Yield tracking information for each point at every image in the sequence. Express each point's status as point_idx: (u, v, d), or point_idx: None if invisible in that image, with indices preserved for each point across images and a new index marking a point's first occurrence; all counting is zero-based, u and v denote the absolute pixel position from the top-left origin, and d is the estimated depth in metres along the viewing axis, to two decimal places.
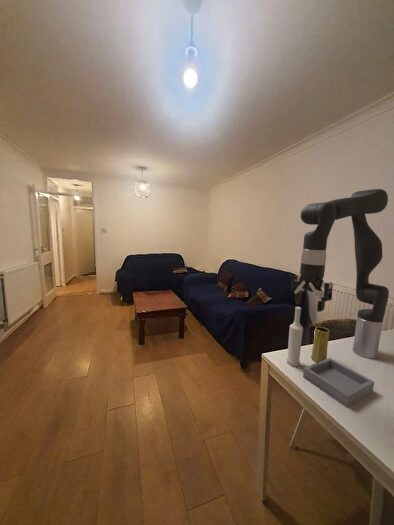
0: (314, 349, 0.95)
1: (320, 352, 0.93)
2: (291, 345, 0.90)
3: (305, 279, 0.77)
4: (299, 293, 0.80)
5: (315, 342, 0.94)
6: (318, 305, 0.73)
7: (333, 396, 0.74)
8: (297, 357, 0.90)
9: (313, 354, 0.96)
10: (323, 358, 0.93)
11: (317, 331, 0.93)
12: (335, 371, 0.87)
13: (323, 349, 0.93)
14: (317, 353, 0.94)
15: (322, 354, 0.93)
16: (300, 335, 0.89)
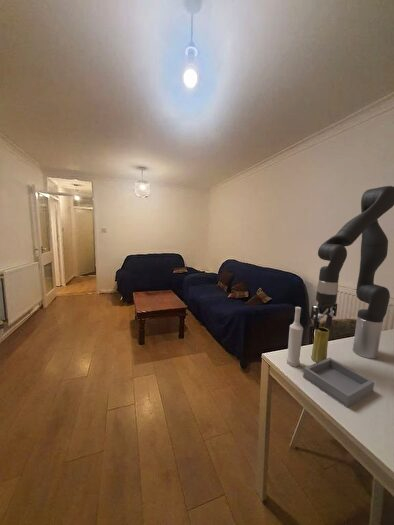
0: (314, 349, 0.95)
1: (320, 352, 0.93)
2: (291, 345, 0.90)
3: (325, 306, 0.91)
4: None
5: (315, 342, 0.94)
6: (331, 321, 0.95)
7: (333, 396, 0.74)
8: (297, 357, 0.90)
9: (313, 354, 0.96)
10: (323, 358, 0.93)
11: (317, 331, 0.93)
12: (335, 371, 0.87)
13: (323, 349, 0.93)
14: (317, 353, 0.94)
15: (322, 354, 0.93)
16: (300, 335, 0.89)
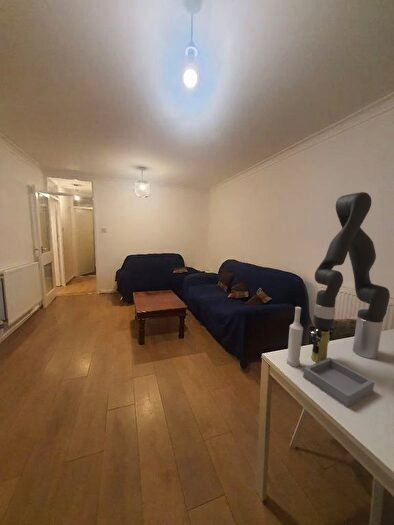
0: None
1: (320, 352, 0.93)
2: (291, 345, 0.90)
3: (322, 330, 0.92)
4: None
5: None
6: None
7: (333, 396, 0.74)
8: (297, 357, 0.90)
9: (313, 354, 0.96)
10: (323, 358, 0.93)
11: None
12: (335, 371, 0.87)
13: (323, 349, 0.93)
14: None
15: (322, 354, 0.93)
16: (300, 335, 0.89)
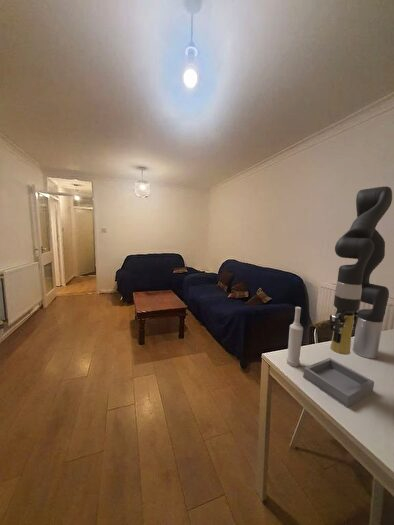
0: None
1: (342, 341, 0.76)
2: (291, 345, 0.90)
3: (346, 313, 0.75)
4: None
5: None
6: None
7: (333, 396, 0.74)
8: (297, 357, 0.90)
9: (333, 344, 0.78)
10: (346, 348, 0.76)
11: None
12: (335, 371, 0.87)
13: (346, 337, 0.75)
14: None
15: (345, 343, 0.76)
16: (300, 335, 0.89)
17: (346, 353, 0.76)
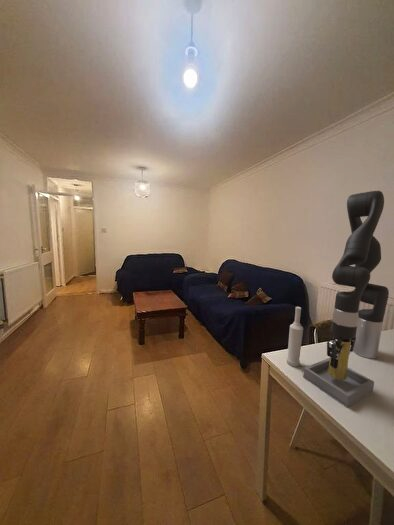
0: None
1: (339, 366, 0.77)
2: (291, 345, 0.90)
3: (343, 340, 0.76)
4: None
5: None
6: None
7: (333, 396, 0.74)
8: (297, 357, 0.90)
9: (330, 368, 0.80)
10: (343, 374, 0.77)
11: None
12: None
13: (343, 362, 0.77)
14: None
15: (342, 369, 0.77)
16: (300, 335, 0.89)
17: (343, 378, 0.77)
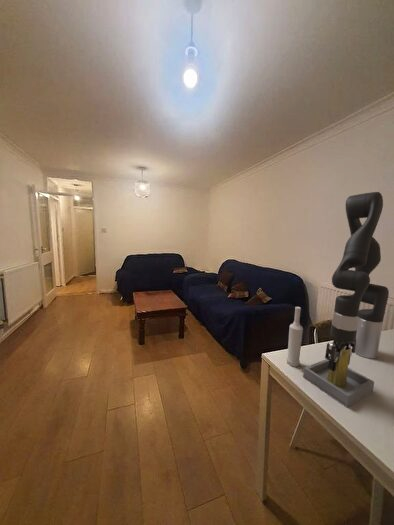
0: None
1: (339, 373, 0.77)
2: (291, 345, 0.90)
3: (343, 343, 0.77)
4: None
5: None
6: (349, 359, 0.80)
7: (333, 396, 0.74)
8: (297, 357, 0.90)
9: (330, 375, 0.80)
10: (342, 381, 0.78)
11: None
12: None
13: (343, 370, 0.77)
14: (335, 374, 0.78)
15: (341, 376, 0.77)
16: (300, 335, 0.89)
17: (342, 385, 0.78)
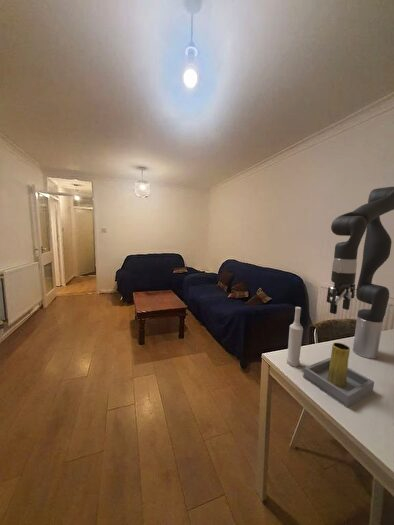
0: (331, 369, 0.79)
1: (339, 373, 0.77)
2: (291, 345, 0.90)
3: (343, 287, 0.81)
4: None
5: (332, 361, 0.79)
6: (349, 304, 0.85)
7: (333, 396, 0.74)
8: (297, 357, 0.90)
9: (330, 375, 0.80)
10: (342, 381, 0.78)
11: (335, 348, 0.78)
12: None
13: (343, 370, 0.77)
14: (335, 374, 0.78)
15: (341, 376, 0.77)
16: (300, 335, 0.89)
17: (342, 385, 0.78)
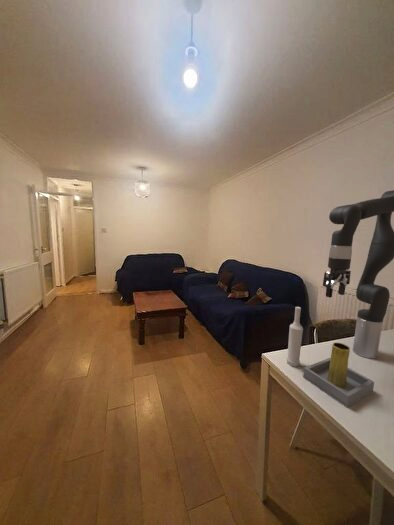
0: (331, 369, 0.79)
1: (339, 373, 0.77)
2: (291, 345, 0.90)
3: (338, 272, 0.86)
4: None
5: (332, 361, 0.79)
6: (344, 290, 0.90)
7: (333, 396, 0.74)
8: (297, 357, 0.90)
9: (330, 375, 0.80)
10: (342, 381, 0.78)
11: (335, 348, 0.78)
12: None
13: (343, 370, 0.77)
14: (335, 374, 0.78)
15: (341, 376, 0.77)
16: (300, 335, 0.89)
17: (342, 385, 0.78)
